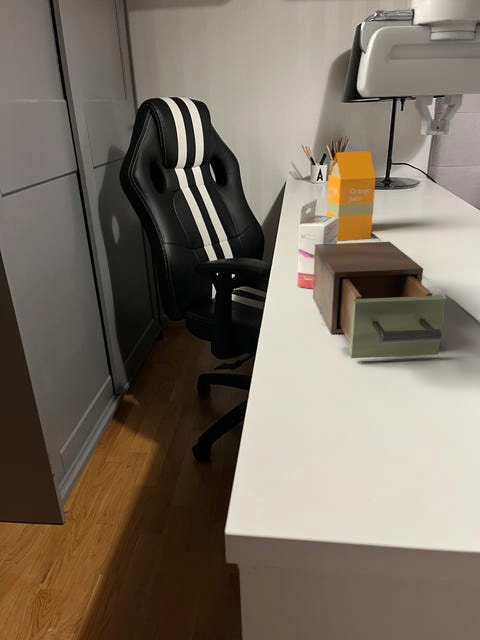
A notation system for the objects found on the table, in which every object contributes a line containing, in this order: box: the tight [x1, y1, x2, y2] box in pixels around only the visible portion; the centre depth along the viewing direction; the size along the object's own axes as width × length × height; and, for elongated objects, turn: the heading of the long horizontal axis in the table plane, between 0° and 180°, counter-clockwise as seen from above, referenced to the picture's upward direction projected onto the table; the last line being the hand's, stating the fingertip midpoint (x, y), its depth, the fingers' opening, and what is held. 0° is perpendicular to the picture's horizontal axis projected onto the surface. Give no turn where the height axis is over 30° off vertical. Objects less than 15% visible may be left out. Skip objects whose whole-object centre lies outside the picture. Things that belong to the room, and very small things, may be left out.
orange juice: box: [326, 150, 377, 242], centre depth 120 cm, size 8×9×20 cm
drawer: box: [337, 274, 447, 359], centre depth 67 cm, size 18×11×8 cm, turn 3°
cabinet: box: [312, 241, 424, 335], centre depth 78 cm, size 15×13×10 cm
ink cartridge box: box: [297, 199, 339, 290], centre depth 91 cm, size 9×5×15 cm, turn 154°
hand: (434, 134), depth 64 cm, fingers closed
